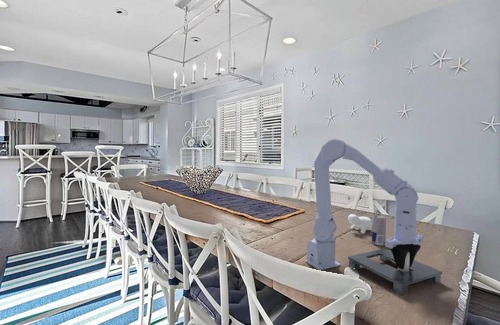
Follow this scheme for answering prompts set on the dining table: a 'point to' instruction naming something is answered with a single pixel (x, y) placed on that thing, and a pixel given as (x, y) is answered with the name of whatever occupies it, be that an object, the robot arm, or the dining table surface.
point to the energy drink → (378, 230)
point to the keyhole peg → (406, 264)
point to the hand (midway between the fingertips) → (403, 266)
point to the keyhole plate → (395, 270)
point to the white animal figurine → (360, 223)
